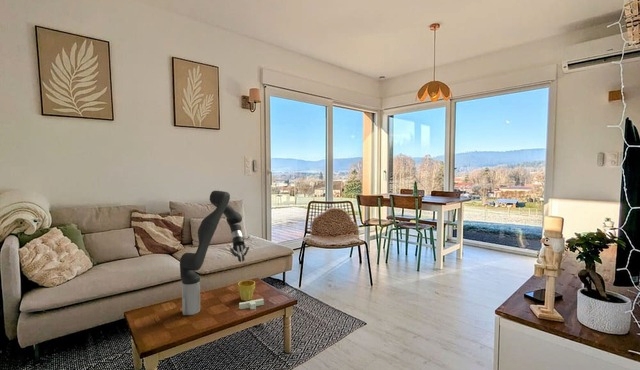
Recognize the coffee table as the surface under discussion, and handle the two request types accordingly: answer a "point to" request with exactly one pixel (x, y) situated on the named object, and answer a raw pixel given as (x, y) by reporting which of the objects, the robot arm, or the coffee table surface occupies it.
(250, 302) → the t stop
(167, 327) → the coffee table surface
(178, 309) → the coffee table surface
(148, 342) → the coffee table surface
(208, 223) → the robot arm
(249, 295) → the plant pot
